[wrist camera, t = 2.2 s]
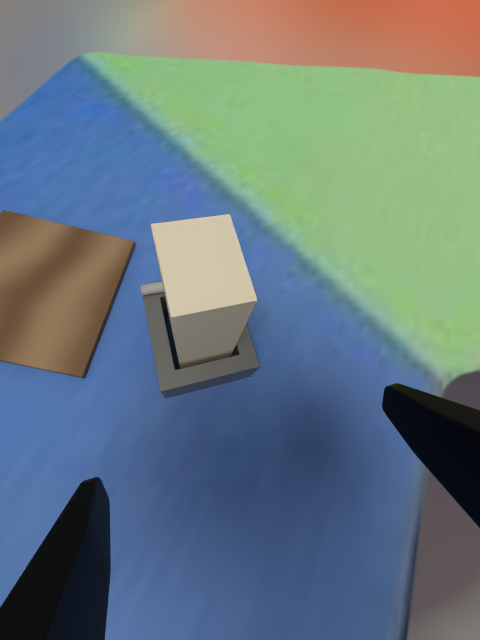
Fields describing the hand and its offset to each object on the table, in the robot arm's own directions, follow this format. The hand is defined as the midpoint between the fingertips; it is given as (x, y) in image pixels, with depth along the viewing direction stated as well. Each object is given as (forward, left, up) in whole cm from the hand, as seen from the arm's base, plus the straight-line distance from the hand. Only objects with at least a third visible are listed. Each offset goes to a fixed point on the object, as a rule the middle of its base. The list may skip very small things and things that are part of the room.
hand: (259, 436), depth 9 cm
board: (+17, -9, -16) cm, 25 cm away
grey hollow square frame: (+3, -7, -16) cm, 18 cm away
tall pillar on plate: (+3, -7, -16) cm, 18 cm away
